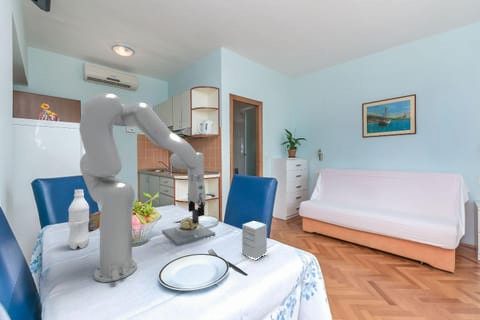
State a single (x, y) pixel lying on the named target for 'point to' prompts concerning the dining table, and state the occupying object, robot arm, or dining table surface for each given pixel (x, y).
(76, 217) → the water bottle
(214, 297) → the dining table surface
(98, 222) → the tin
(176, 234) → the base plate
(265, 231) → the supplement box
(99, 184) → the robot arm
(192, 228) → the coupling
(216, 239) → the dining table surface
